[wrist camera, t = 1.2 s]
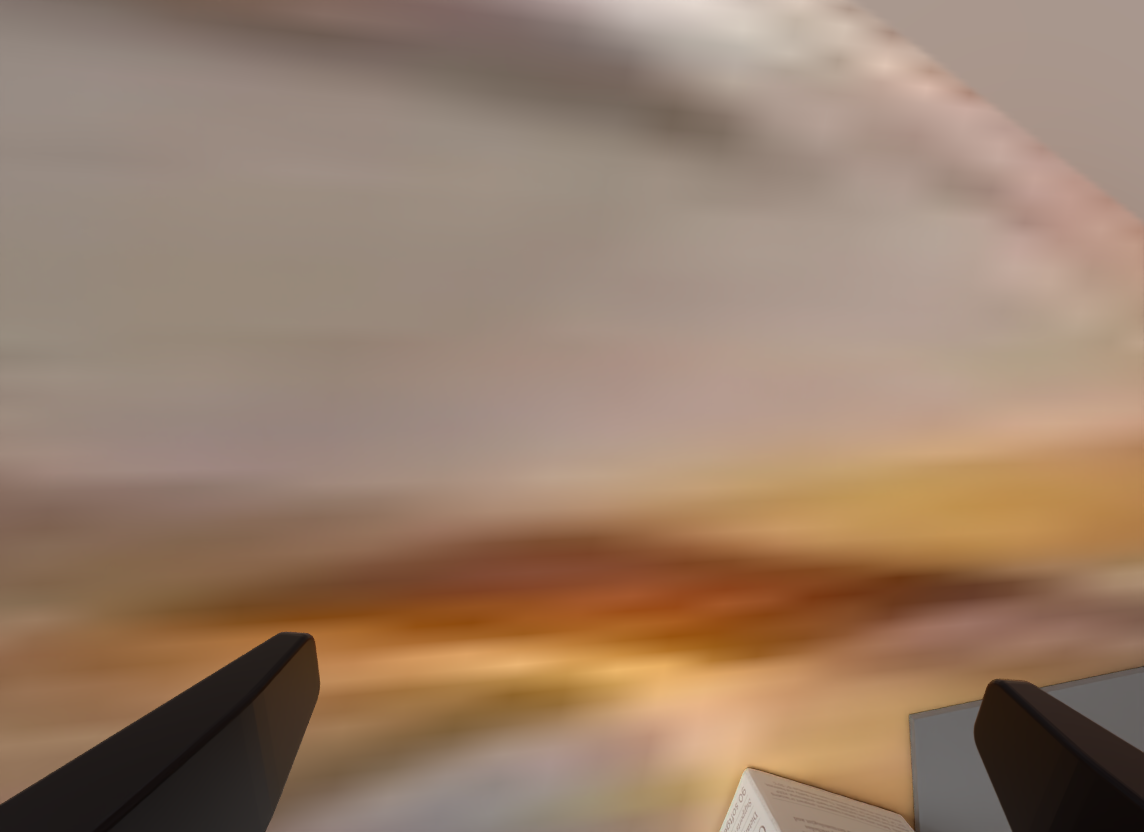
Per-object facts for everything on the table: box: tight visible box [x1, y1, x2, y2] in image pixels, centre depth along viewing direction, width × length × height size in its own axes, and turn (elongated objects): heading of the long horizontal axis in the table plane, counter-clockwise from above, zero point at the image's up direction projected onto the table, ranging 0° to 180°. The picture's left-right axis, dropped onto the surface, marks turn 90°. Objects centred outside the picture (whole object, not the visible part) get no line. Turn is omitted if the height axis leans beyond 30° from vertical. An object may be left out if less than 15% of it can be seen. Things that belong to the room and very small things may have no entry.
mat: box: [909, 667, 1144, 832], centre depth 25 cm, size 14×11×1 cm
